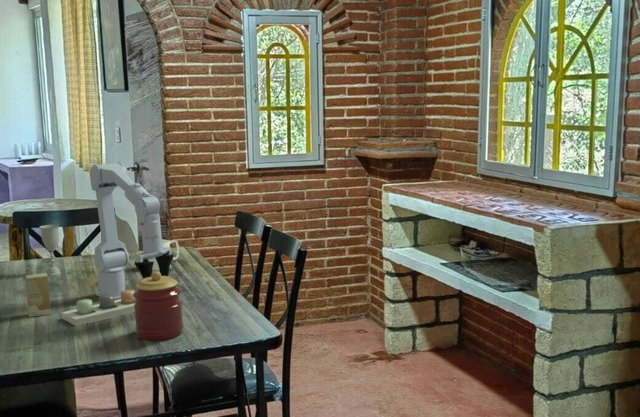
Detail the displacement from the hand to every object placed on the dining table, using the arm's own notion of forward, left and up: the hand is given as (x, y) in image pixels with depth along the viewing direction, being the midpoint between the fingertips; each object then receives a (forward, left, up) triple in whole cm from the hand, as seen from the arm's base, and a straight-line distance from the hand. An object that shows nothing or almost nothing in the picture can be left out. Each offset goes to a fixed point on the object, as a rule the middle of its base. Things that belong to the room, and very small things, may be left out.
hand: (156, 281), depth 213 cm
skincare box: (-27, -26, -10) cm, 39 cm away
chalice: (-74, -3, -10) cm, 75 cm away
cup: (-51, +31, -10) cm, 61 cm away
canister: (+16, -9, -10) cm, 21 cm away
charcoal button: (-12, -11, -8) cm, 18 cm away
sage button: (-12, -18, -8) cm, 23 cm away
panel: (-12, -11, -10) cm, 19 cm away
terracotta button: (-12, -4, -8) cm, 15 cm away
